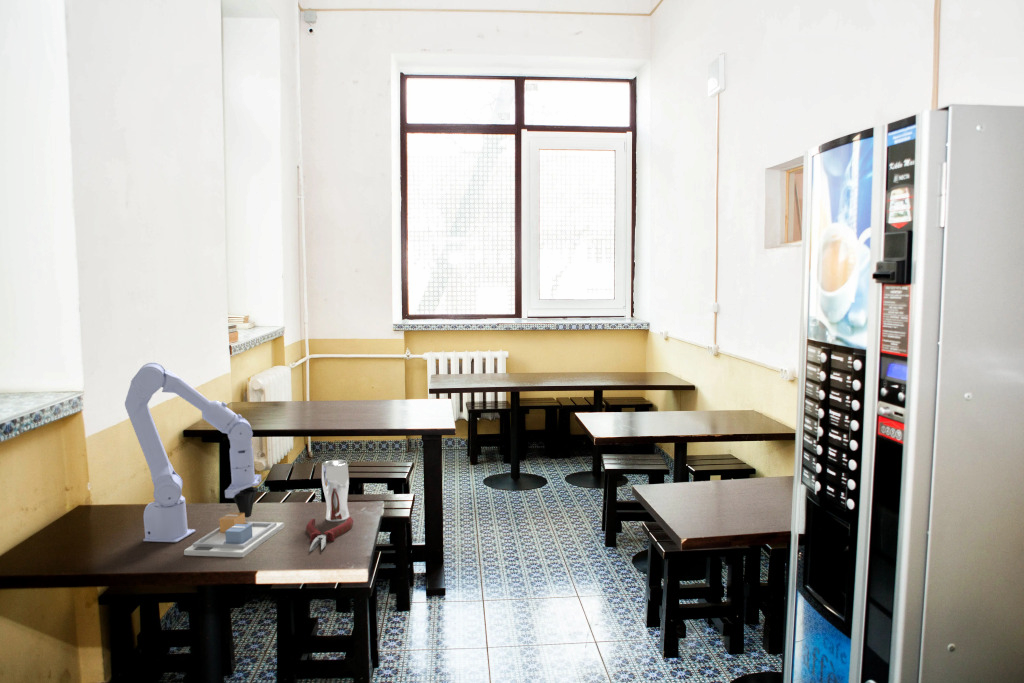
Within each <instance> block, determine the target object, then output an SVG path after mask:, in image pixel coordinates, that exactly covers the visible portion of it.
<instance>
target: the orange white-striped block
mask: <svg viewBox="0 0 1024 683" xmlns="http://www.w3.org/2000/svg"><path fill="white" fill-rule="evenodd" d="M218 519H219V520H218V521H219V527H220V533H225V531H226V530H228V529H229V528H231V527H233V526H234V525H236V524H245V522H246V517H245V513H240V512H229V513H227V514H225V515H223V516H222V517H220V518H218Z"/></svg>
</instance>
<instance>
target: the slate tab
mask: <svg viewBox="0 0 1024 683" xmlns="http://www.w3.org/2000/svg"><path fill="white" fill-rule="evenodd" d="M225 535H226V543H229V544H243V543H245V542H246V541H248V540H249V539H251V538H252V537H253V536H252V524H236V525H234V526H233V527H231V528H229V529H228V530H226V531H225Z"/></svg>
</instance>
